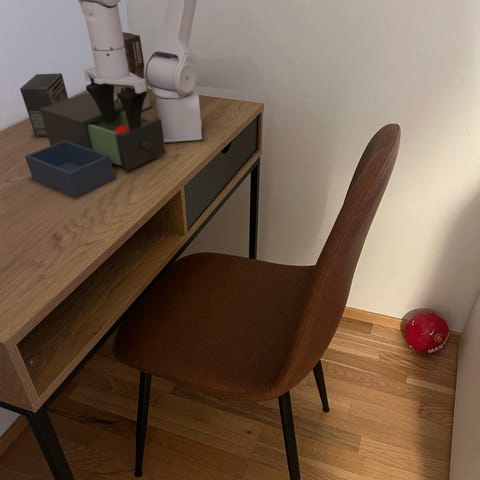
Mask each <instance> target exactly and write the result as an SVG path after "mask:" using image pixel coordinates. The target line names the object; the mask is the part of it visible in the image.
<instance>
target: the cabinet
mask: <svg viewBox="0 0 480 480" xmlns="http://www.w3.org/2000/svg"><path fill="white" fill-rule="evenodd" d="M114 107H115V113H117V112H119V111H124V108H123V106H122V104H121V102H117V101H114ZM40 111H41V115H42V118H43V121H44V125H45V128H46V132H47V135H48V136H47V138H48V142H49V146H51V145H54V144H56V143H59V142H61V141H64V140H67V141H69V142H72V143H75V144H78V145H81V146H84V147H86V148H89V149H92V148H91V144H90V140H89V136H88V131H87V127H86V124H88V123H91V122H94V121H96V120H99V119H101V118H103V116H102V114H101V112H100V109H99V107H98V106H97V104H96V102H95V100H94V99H93V97H92V96H91V95H90V93H89V92H85V93H82V94H79V95H76V96H73V97H69V98H68V99H67V100H64V101H61V102H58V103H55V104H52V105H49V106H46V107H43V108H40Z"/></svg>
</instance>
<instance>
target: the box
mask: <svg viewBox="0 0 480 480" xmlns="http://www.w3.org/2000/svg"><path fill="white" fill-rule="evenodd" d="M24 158H25V161H26V163H27V166H28V170H29V173H30V175H31V176H30V177H31V178H32V180H34V181H37V182H39V183H41V184H43V185H46V186H48V187H50V188H53V189H55V190H57V191H59V192H62V193H64V194H67V195H69V196H71V197H74V198H76V199H77V198H79V197H81V196H83V195H85V194H87V193H89V192H91V191H94V190H95V189H97V188H99V187H101V186H103V185H105V184H107V183H109V182H112V181H113V180H115V174H114V173H115V172H114V168H113V163H111V159H110V156H109V155H106V154H104V153H101V152H98V151H95V150H92V149H89V148H86V147H84V146H81V145H78V144H75V143H72V142H69V141H67V140H64V141H61V142H59V143H56V144H54V145H49V146H46V147H44V148H41V149H39V150H36V151H34V152H32V153H29V154H26V155H24Z"/></svg>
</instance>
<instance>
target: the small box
mask: <svg viewBox="0 0 480 480" xmlns="http://www.w3.org/2000/svg"><path fill="white" fill-rule="evenodd" d="M19 90H20V93H21V96H22V101H23V103H24V106H25V108H26V112H27V115H28V118H29V121H30V124H31V128H32V130H33V134H34V136H35V137H48V135H47V132H46V128H45V125H44V121H43V118H42V115H41V111H40V108H43V107H46V106H49V105H52V104H55V103H58V102H61V101H64V100H67V99H69V96H68V92H67V88H66V84H65V80H64V78H63V73H62V72H59V73H55V72H54V73H36V74H35V75H34V76H33V77H32V78H30V79H29V80H28V81H27V82H26V83H25V84H24V85H22V86H21V87H20V88H19Z"/></svg>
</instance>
